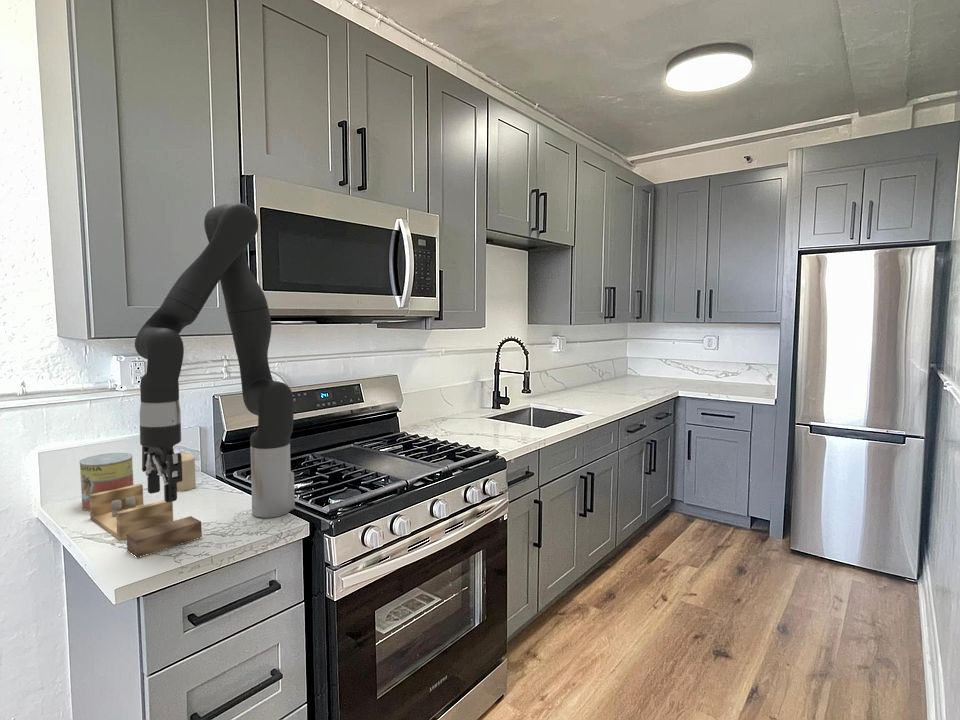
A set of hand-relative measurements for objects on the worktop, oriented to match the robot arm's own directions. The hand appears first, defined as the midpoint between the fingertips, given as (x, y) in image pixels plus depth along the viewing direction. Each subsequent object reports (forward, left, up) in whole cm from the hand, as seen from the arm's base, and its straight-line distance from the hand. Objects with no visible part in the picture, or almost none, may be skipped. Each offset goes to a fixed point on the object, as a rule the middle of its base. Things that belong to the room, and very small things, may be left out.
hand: (162, 496), depth 116 cm
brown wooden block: (0, 0, -11) cm, 11 cm away
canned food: (-1, -37, -11) cm, 39 cm away
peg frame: (0, -19, -11) cm, 22 cm away
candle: (-19, -35, -11) cm, 41 cm away
